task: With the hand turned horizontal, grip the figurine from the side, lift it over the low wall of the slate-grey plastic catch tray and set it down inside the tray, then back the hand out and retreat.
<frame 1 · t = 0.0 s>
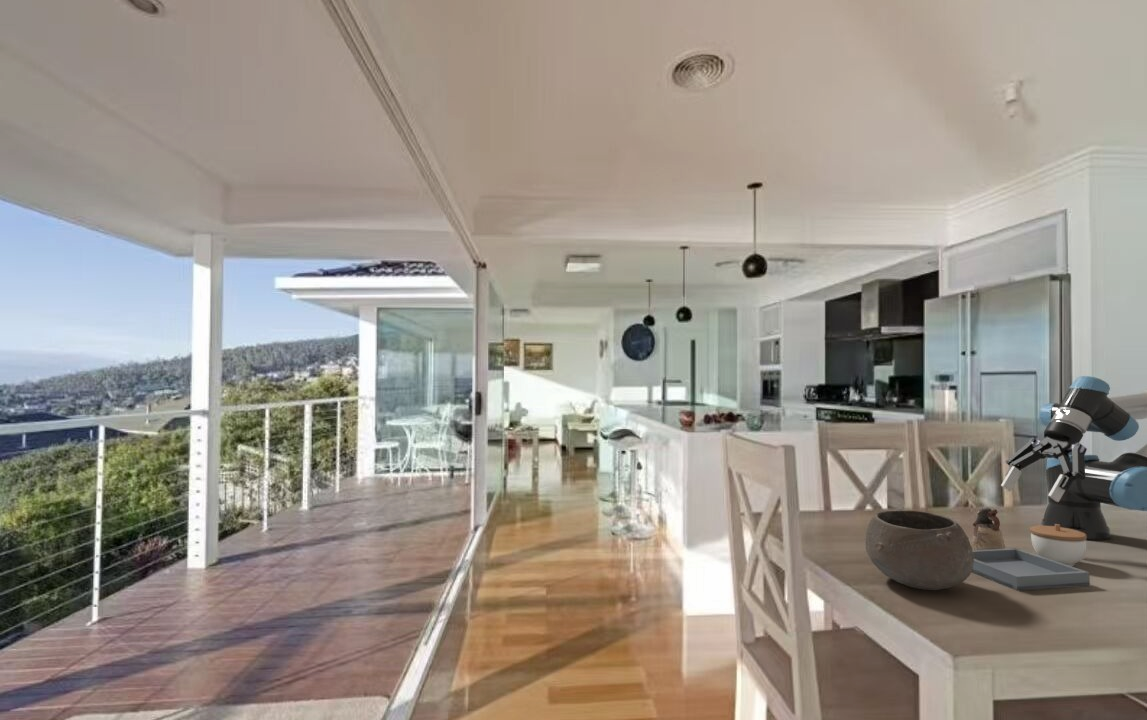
hand: (1028, 493, 149), 15 cm above the table, tool tilted 35°, fingers open, 13 cm apart
clay pot: (918, 584, 126), on the table
lidded jar: (1058, 563, 140), on the table
catch tray: (1016, 574, 131), on the table
figurine: (988, 554, 147), on the table
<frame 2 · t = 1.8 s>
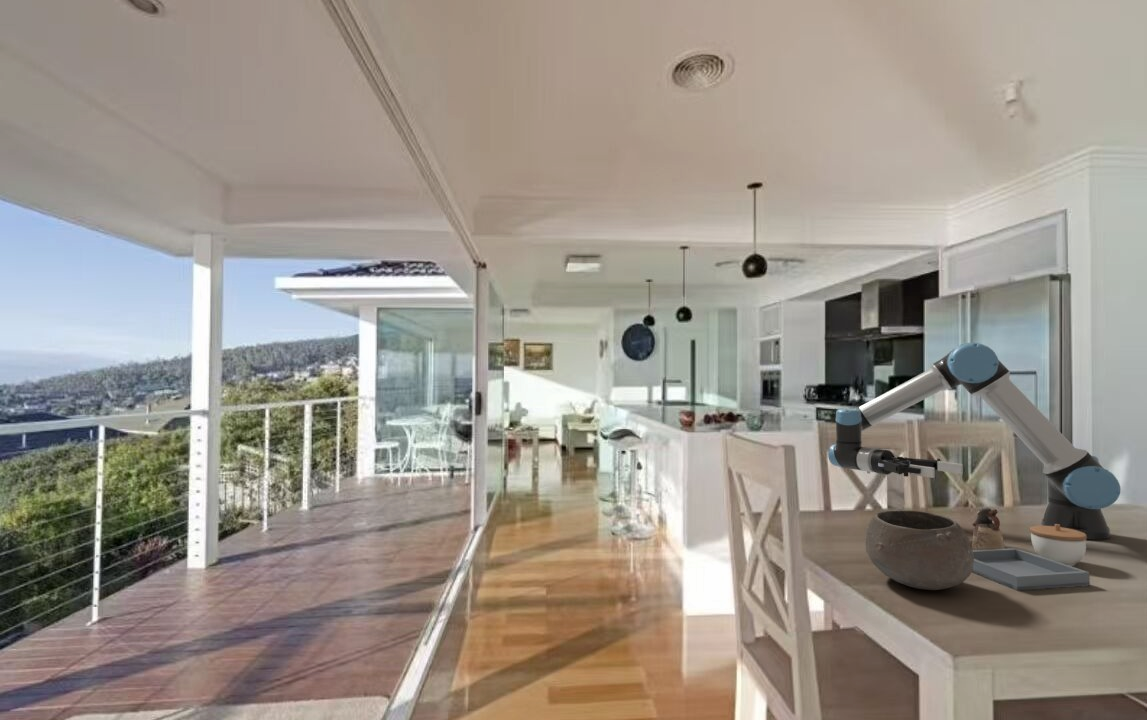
hand: (948, 470, 156), 20 cm above the table, tool horizontal, fingers open, 13 cm apart
nothing on the table moved.
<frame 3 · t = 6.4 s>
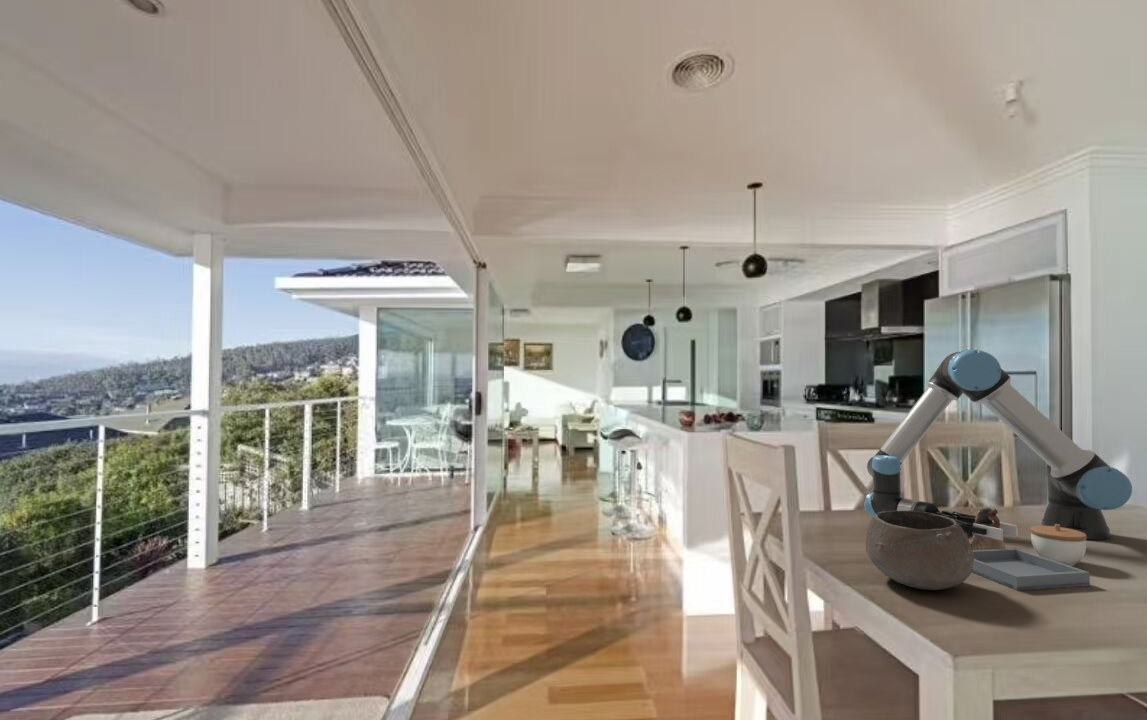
hand: (1009, 532, 143), 7 cm above the table, tool horizontal, fingers closed on figurine, 6 cm apart
figurine: (988, 553, 147), on the table, touching gripper
everything else where it was.
when the fingers open (9 cm above the table, at t = 11.5 s): figurine drops 2 cm, resting on catch tray.
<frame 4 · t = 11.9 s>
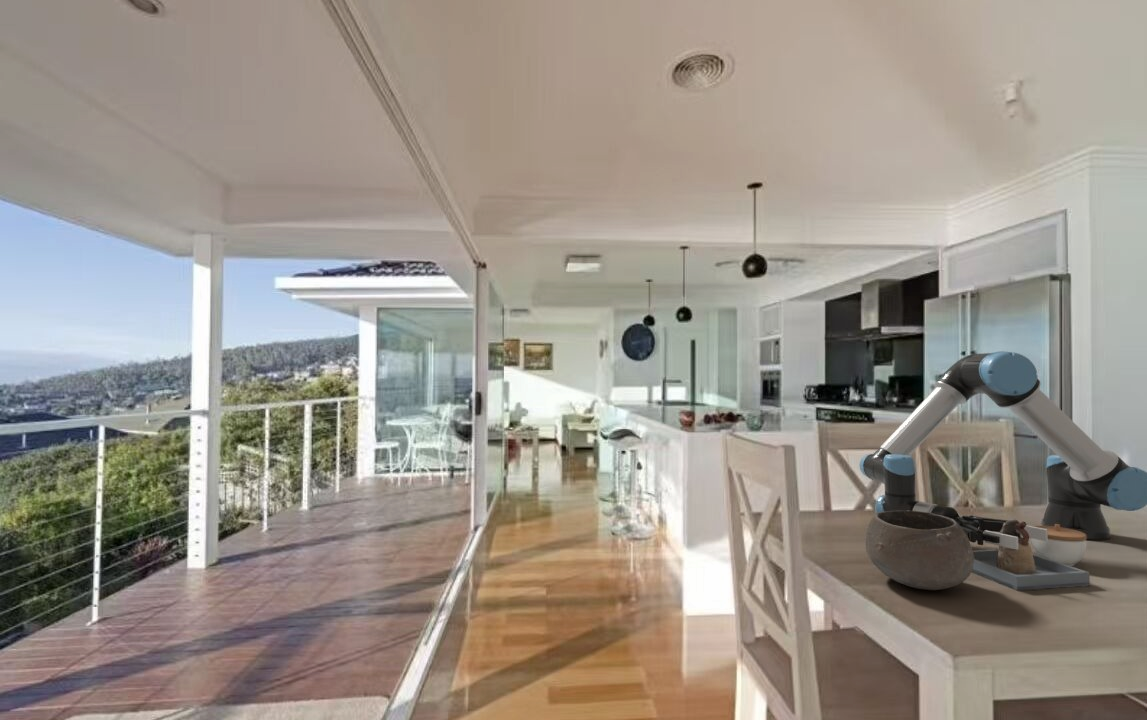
hand: (1032, 539, 129), 9 cm above the table, tool horizontal, fingers open, 12 cm apart
figurine: (1016, 571, 131), point 1 cm above the table, touching catch tray
everything else where it was.
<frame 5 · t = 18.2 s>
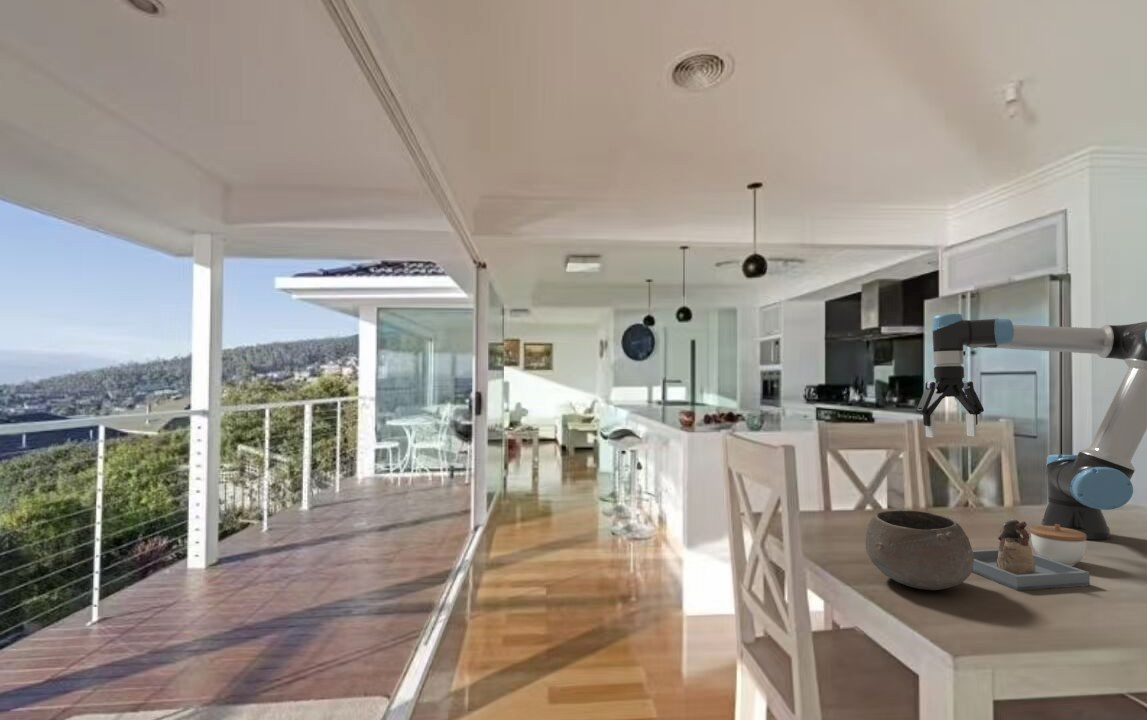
hand: (951, 436, 167), 29 cm above the table, tool pointing down, fingers open, 13 cm apart
nothing on the table moved.
at the end: figurine inside the target area on the catch tray (0.1 cm from its centre), point 0.6 cm above the catch tray's base; figurine tilted 0°; the gripper is holding nothing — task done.
